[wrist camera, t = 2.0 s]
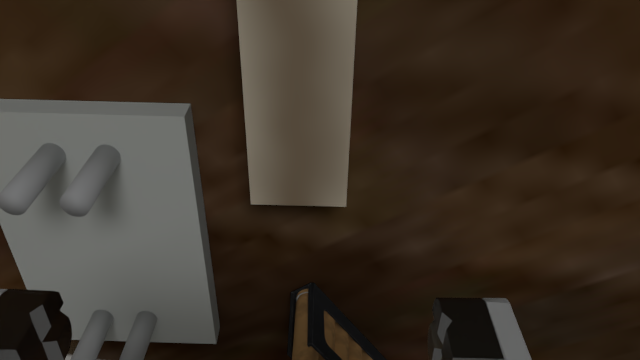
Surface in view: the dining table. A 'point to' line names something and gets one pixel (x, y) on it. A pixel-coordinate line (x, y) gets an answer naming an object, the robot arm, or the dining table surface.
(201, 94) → the dining table surface
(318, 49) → the tan bar
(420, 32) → the dining table surface
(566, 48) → the dining table surface
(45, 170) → the peg stand
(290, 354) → the ammunition clip
